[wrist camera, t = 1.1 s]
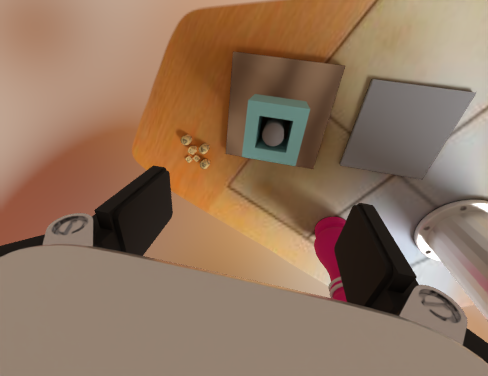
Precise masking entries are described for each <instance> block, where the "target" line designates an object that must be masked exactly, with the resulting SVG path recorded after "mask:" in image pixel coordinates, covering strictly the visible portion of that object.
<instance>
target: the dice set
mask: <svg viewBox="0 0 488 376" xmlns="http://www.w3.org/2000/svg"><path fill="white" fill-rule="evenodd" d="M191 141H192V137H191V136H190V135H189V134H188V135H184V136H183V137H182V138H181V143H182V144H184V145H188V144H189V143H191ZM209 149H210V148H209V145H208V144H206V143H205V144H202V145H201V146H200V147H199V152H200V153H201V154H206V153H207V152H208V150H209ZM195 152H197V147H196V146H192V145H191V146H190V147H189V150H188V153H190V154H192V155H193V154H194V153H195ZM185 159H186V161H187V162H188V163H189V162H191V161H192V160H193V159H194V160H195V161H196V162H198V161H199V160H200V159H201V158H200V157H199V156H198V155H197V154H196V156H195V157H194V158H193V159H192V158H191V156H190V155H189V156H188V157H187V158H185ZM209 165H210V161H209V160H208V159H203V160H202V162H201V163H200V167H201V168H202V169H206V168H207V167H208V166H209Z"/></svg>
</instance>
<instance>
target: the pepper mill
mask: <svg viewBox="0 0 488 376" xmlns="http://www.w3.org/2000/svg"><path fill="white" fill-rule="evenodd" d="M345 222H346V220H344V219H342V218H340V217H327V218H324V219H322V220H320V221H319V222H318V223H317V225H316V227H315V236H316V239H315V243H314V248H315V251H316V254H317V257H318V258H319V260H320V262H321V263H322V264H323V265H324V267H325V268H326V269H327V271H328V273H329V275H330V279H331V283H330V284H329V291H330V297H331V298H332V299H336V300H340V301H344V302H347V300H346V296H345V292H344V288H343V284H342V280H341V276H340V272H339V268H338V264H337V260H336V256H335V252H334V247H335V244H336V242H337V240H338V237H339V235H340V233H341V231H342V229H343V227H344V224H345Z"/></svg>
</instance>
